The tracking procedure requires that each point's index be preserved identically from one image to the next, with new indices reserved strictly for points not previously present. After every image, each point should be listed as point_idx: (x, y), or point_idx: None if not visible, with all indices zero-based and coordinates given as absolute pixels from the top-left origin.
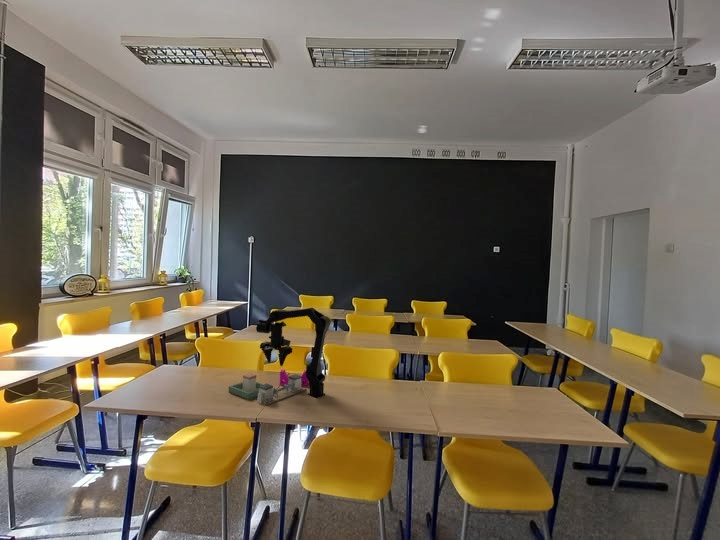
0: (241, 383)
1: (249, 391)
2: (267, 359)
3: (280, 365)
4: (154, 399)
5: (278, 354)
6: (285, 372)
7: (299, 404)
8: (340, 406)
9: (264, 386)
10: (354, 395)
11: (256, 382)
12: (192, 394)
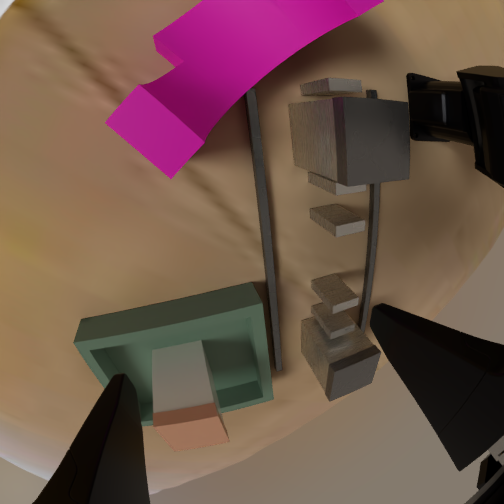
0: None
1: (211, 373)
2: (137, 443)
3: (380, 335)
4: None
5: (459, 465)
6: (159, 92)
7: (434, 237)
8: None
9: (355, 384)
10: (481, 40)
11: (139, 337)
12: None
